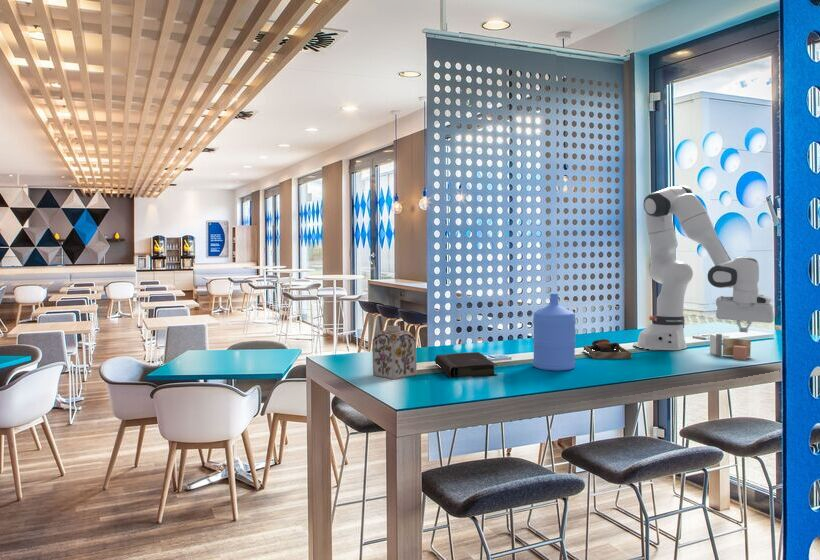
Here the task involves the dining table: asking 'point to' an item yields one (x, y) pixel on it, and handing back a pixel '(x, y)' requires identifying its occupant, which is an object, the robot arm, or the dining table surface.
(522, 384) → the dining table surface
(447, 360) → the diary
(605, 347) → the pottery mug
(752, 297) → the robot arm
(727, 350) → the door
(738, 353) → the salmon pink block
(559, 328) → the water jug
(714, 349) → the light grey slab
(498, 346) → the dining table surface
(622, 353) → the frame
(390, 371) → the decorative jar
